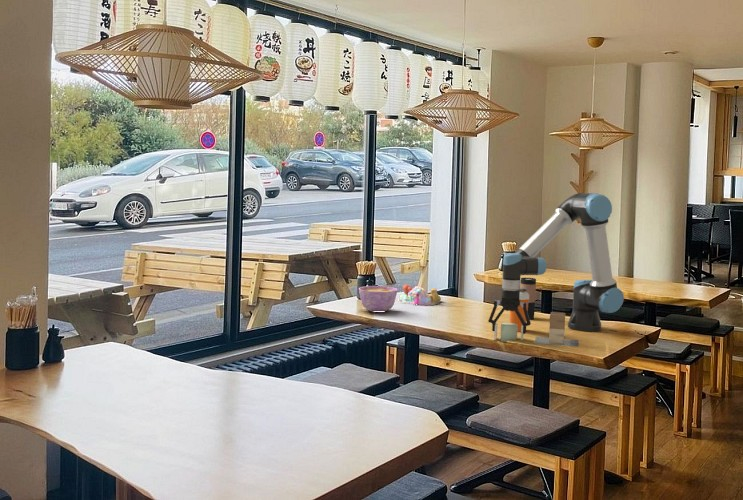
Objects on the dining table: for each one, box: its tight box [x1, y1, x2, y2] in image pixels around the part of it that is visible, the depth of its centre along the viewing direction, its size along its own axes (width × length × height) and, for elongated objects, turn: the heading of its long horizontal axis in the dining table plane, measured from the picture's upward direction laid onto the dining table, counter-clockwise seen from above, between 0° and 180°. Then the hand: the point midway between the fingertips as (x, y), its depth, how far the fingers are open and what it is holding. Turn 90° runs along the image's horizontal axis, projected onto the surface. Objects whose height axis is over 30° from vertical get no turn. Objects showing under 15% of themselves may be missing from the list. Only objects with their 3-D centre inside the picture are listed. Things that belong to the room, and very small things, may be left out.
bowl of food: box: [358, 285, 398, 311], centre depth 391 cm, size 20×20×12 cm
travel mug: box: [520, 277, 537, 321], centre depth 380 cm, size 8×8×20 cm
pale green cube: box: [499, 322, 518, 343], centre depth 330 cm, size 7×7×7 cm
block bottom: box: [548, 327, 566, 344], centre depth 325 cm, size 6×6×6 cm
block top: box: [549, 311, 566, 330], centre depth 325 cm, size 6×6×6 cm
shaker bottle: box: [509, 289, 529, 333], centre depth 347 cm, size 9×9×20 cm
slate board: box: [533, 336, 579, 348], centre depth 326 cm, size 13×18×1 cm
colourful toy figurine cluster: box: [397, 284, 442, 306], centre depth 422 cm, size 25×24×9 cm
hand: (508, 339), depth 330 cm, fingers open, 10 cm apart
